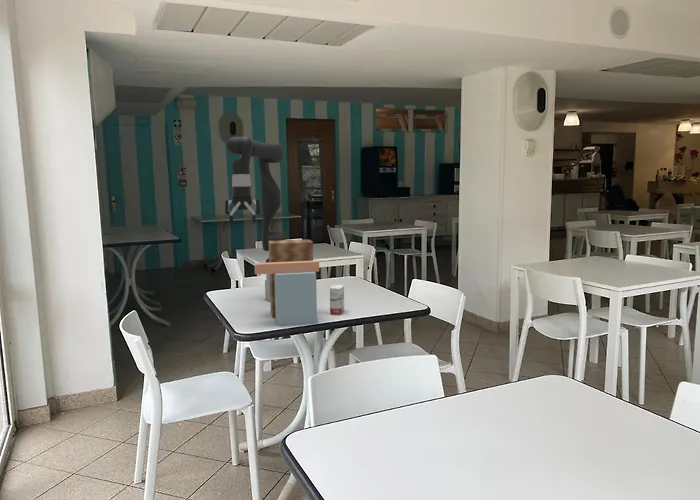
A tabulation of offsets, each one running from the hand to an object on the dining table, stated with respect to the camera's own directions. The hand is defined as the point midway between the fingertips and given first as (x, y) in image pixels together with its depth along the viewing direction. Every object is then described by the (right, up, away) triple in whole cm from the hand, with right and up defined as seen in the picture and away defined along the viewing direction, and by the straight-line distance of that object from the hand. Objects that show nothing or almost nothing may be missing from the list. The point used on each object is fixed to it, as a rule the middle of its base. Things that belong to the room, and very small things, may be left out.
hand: (242, 224), depth 231 cm
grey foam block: (+23, -41, -2) cm, 47 cm away
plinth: (+20, -39, +10) cm, 45 cm away
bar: (+19, -20, -6) cm, 28 cm away
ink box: (+39, -39, +12) cm, 56 cm away
